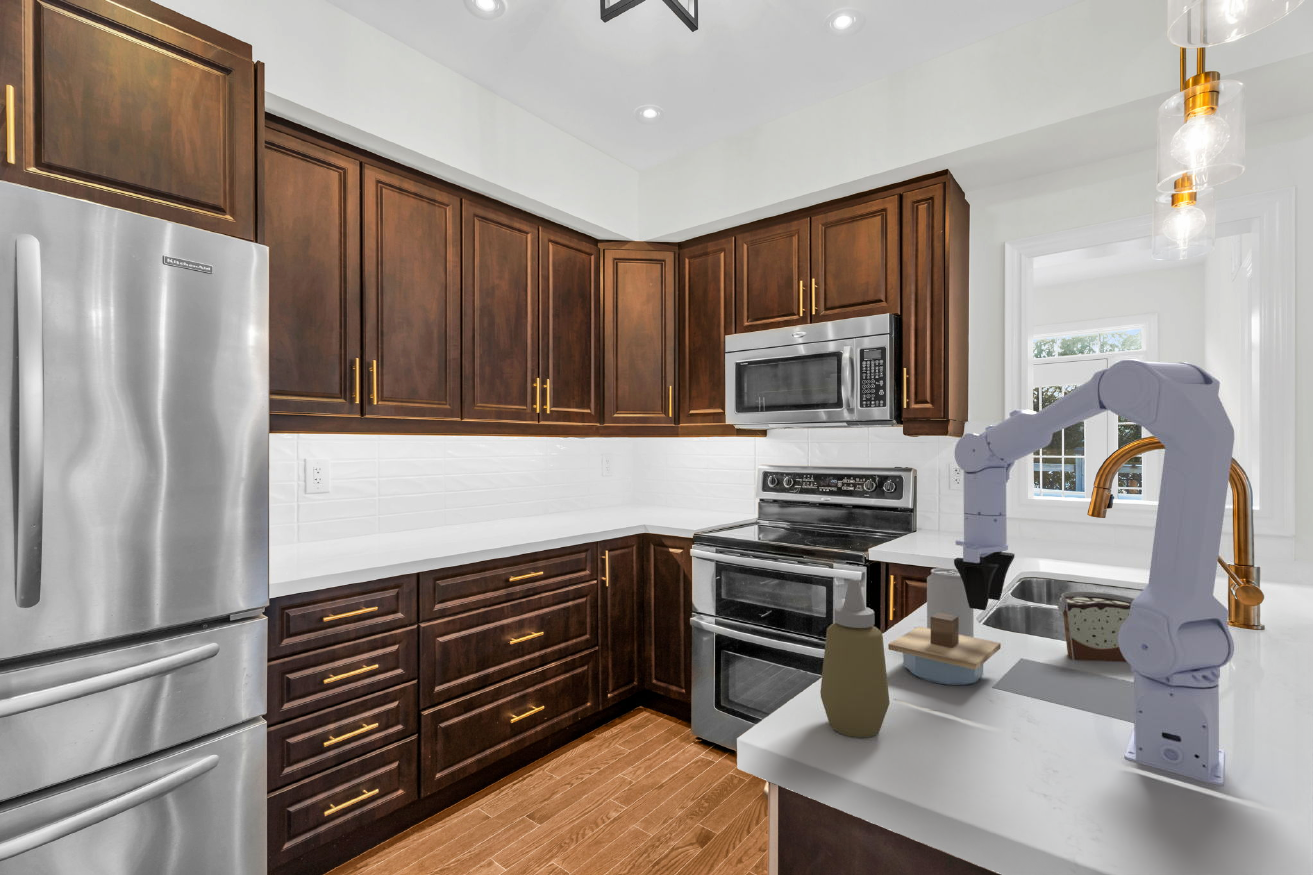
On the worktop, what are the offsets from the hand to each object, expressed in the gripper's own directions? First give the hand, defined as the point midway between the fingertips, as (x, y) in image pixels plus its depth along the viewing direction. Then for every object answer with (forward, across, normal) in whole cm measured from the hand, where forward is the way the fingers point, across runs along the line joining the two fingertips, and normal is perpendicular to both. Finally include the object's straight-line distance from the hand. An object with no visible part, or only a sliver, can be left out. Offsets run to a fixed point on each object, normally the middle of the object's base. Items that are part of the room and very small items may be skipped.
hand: (985, 603), depth 93 cm
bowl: (+10, +6, -4) cm, 13 cm away
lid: (+6, +6, -4) cm, 9 cm away
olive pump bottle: (+11, +30, -7) cm, 33 cm away
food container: (+11, -19, +11) cm, 25 cm away
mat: (+10, -1, +11) cm, 15 cm away
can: (+11, -14, -9) cm, 20 cm away
